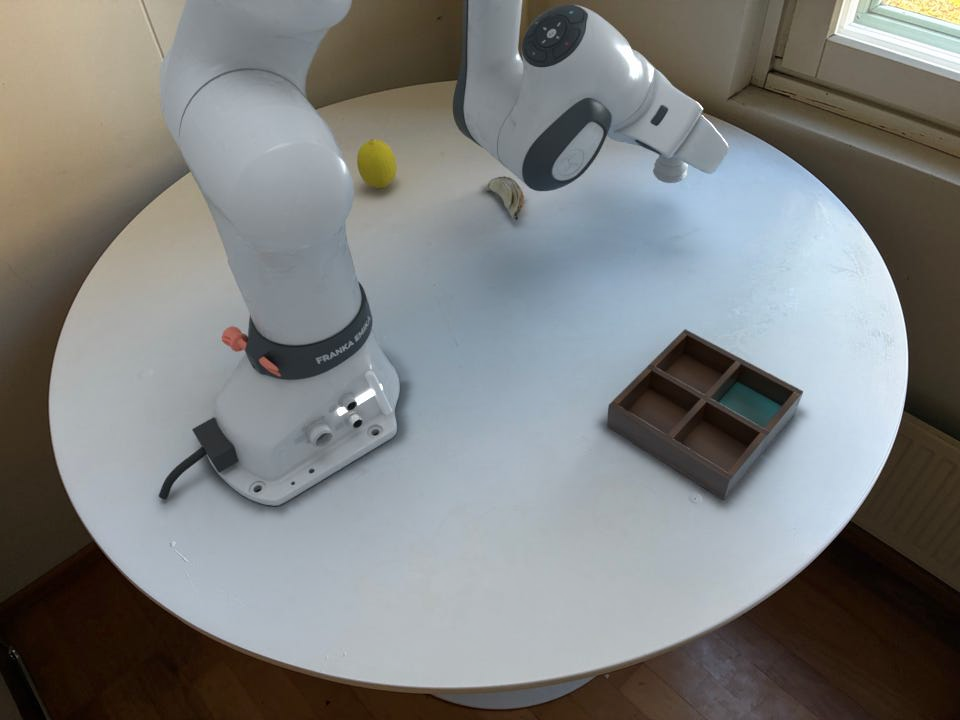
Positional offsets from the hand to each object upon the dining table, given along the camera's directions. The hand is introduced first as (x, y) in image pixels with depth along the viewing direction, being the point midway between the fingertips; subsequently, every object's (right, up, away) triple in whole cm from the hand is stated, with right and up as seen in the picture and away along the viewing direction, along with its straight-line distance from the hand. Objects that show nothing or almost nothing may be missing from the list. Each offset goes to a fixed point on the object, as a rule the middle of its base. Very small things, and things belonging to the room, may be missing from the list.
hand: (677, 143), depth 98 cm
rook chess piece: (0, -3, +3) cm, 5 cm away
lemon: (-40, -2, +16) cm, 43 cm away
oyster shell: (-21, -6, +11) cm, 25 cm away
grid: (-2, -34, -17) cm, 38 cm away
